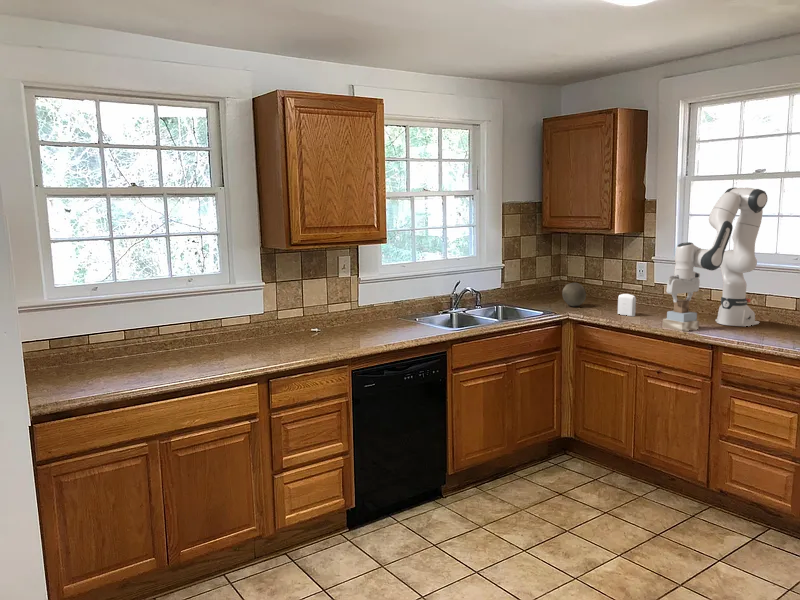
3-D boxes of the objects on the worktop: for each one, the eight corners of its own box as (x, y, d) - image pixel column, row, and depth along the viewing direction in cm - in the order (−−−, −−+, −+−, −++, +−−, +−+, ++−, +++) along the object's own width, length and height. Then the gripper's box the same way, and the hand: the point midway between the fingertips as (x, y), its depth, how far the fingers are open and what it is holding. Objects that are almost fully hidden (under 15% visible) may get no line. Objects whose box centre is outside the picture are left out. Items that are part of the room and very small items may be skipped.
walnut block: (680, 310, 332) (681, 299, 331) (688, 312, 328) (689, 300, 327) (673, 311, 330) (674, 300, 329) (681, 313, 326) (682, 301, 325)
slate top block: (679, 317, 336) (680, 309, 335) (696, 320, 327) (697, 312, 327) (666, 319, 331) (667, 311, 330) (683, 322, 322) (683, 314, 322)
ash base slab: (678, 326, 338) (679, 317, 337) (698, 330, 327) (698, 320, 326) (662, 328, 332) (663, 319, 332) (681, 332, 322) (682, 322, 321)
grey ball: (564, 304, 408) (565, 281, 406) (587, 305, 402) (588, 282, 400) (559, 307, 395) (560, 283, 393) (583, 309, 389) (584, 284, 387)
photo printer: (616, 314, 371) (617, 293, 370) (620, 313, 374) (621, 292, 372) (632, 316, 364) (633, 295, 362) (636, 316, 366) (637, 294, 364)
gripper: (674, 276, 319) (672, 303, 321) (702, 273, 328) (700, 300, 330) (664, 275, 325) (662, 302, 327) (691, 272, 334) (690, 299, 336)
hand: (682, 301), depth 328 cm, fingers open, 8 cm apart
